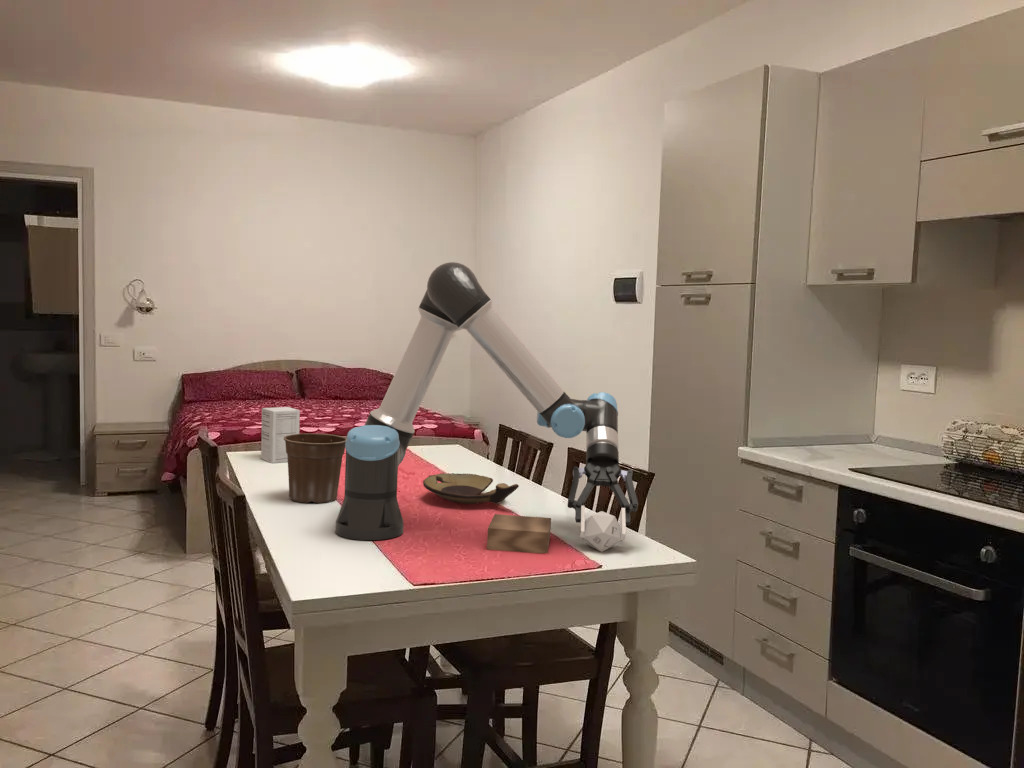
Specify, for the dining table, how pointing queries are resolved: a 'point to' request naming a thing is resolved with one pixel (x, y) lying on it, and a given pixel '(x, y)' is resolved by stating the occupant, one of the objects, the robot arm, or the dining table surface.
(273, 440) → the supplement box
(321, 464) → the plant pot
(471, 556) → the dining table surface
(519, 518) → the walnut block
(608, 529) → the die
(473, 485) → the oil lamp
